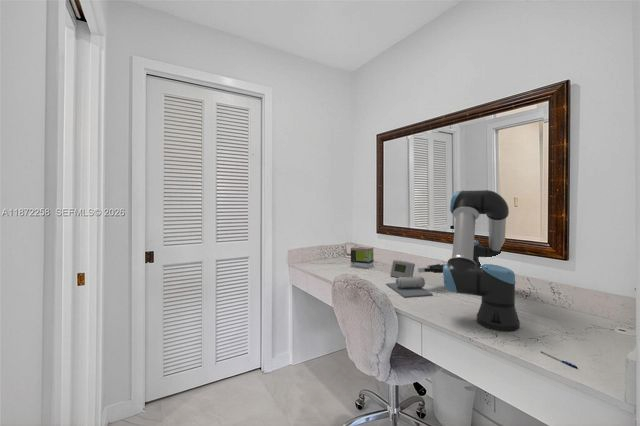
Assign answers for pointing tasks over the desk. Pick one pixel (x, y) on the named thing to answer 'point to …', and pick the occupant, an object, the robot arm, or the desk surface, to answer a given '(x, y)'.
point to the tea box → (362, 257)
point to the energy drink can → (410, 282)
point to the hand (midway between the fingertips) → (418, 269)
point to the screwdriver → (560, 360)
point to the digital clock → (402, 269)
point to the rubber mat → (409, 291)
